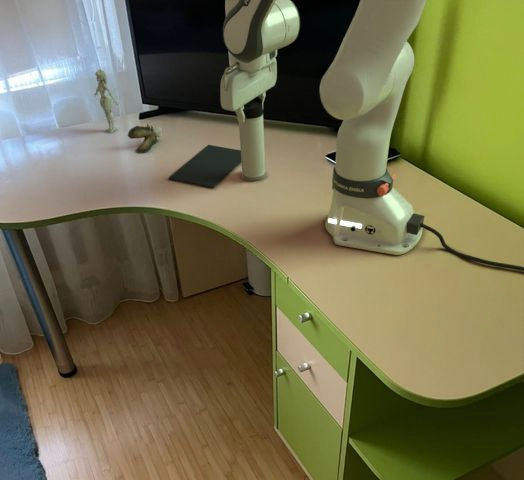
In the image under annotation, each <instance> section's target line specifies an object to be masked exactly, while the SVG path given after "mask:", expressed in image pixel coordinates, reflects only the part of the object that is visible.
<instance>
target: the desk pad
mask: <svg viewBox="0 0 524 480" xmlns="http://www.w3.org/2000/svg"><path fill="white" fill-rule="evenodd" d="M240 164H242V162H241V149H234V148H229V147H224V146H216V145H212V144H207V145H206V146H205V147H204V148H202V149H201V150H200V151H199V152H197V153H196V154H195V155H194V156H193V157H192V158H190V159H189V160H188V161H187V162H186V163H184V164H183V165H181V166H180V167H179V168H178V169H177V170H175V171H174V172H173V173H172V174H171V175H170V176H168V180H169V181H173V182H174V181H175V182H179V183H184V184H189V185H192V186H193V185H194V186H199V187H204V188H208V189H212V190H213V189H214V188H215V187H217V186H218V185H219V183H221V182H222V181H223V180H224V179H225V178H226V177H227V176H228V175H229V174H231V173H232V172H233V171H234V170H235V169H236V168H237V167H238V166H239V165H240Z"/></svg>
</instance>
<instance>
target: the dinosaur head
mask: <svg viewBox="0 0 524 480" xmlns="http://www.w3.org/2000/svg"><path fill="white" fill-rule="evenodd" d="M162 135H163V129H162V128H161V127H160V126H155V127H154V126H153V125H149V124H148V123H146V126H141V125H140V126H139V125H135V126H133V127H131V128H130V129H129V130H128V132H127V137H128V138H129V140H134V139H136V140H137V139H143V140H142V142H141V144H140V145H139V146H138V147H137V148H136V149H135V150H136V153H138V154H142V153H147V152H149V151H150V150H151V148H153V146H155V145H156V144H157V142H159V140H158V138H162Z"/></svg>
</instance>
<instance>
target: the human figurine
mask: <svg viewBox="0 0 524 480" xmlns="http://www.w3.org/2000/svg"><path fill="white" fill-rule="evenodd" d="M94 74H95V77H96V78H95V79H96V81H97V87H96V89H95V93H94V94H93V96H94V97H96V96H98V95H99V94H100V99H99V104H100V107H101V108H102V110H103V113H104V115H105V117H106V121H107V124H108V129H106V132H108V133H110V134H111V133H113V132H115V131H116V128H115V126H114V122H115V119H114V116H113V114H112V111H113V106H112V105H113V104H115V105H116V106H119V104H120V102H119V101H118V100H117V99H115V96H114V94H113V93H112V92H111V91H110V88H109V85H108V76H107V74H106V72H105V71H104V69H97V71H95V73H94ZM106 91H107V92H108V94H109V95H108V94H106ZM98 93H99V94H98ZM112 101H113V102H112Z"/></svg>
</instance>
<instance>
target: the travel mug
mask: <svg viewBox="0 0 524 480" xmlns="http://www.w3.org/2000/svg"><path fill="white" fill-rule="evenodd" d="M243 112H244V114H246V115H247V117H246V118H247V120H246V121H245V122H244V123H240V122H238V129H239V145H240V146H239V147H240V150H241V175H242V178H243V179H244V180H246V181H249V182H257V181H260V180H262V179H264V178H265V177H266V158H265V157H266V156H265V131H264V104H263V105H262V100H261V99H260V97H256V98H254V99H253V100H251V101H249V102H248V103H246V104H245V105H244V109H243Z"/></svg>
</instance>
